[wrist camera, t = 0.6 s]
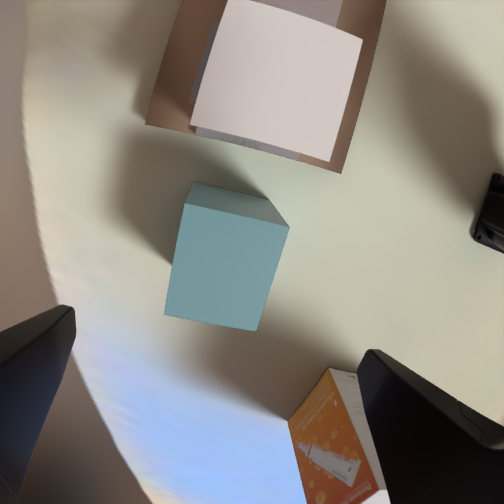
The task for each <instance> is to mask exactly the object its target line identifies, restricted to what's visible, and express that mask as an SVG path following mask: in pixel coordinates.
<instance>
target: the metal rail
mask: <svg viewBox="0 0 504 504" xmlns="http://www.w3.org/2000/svg"><path fill="white" fill-rule="evenodd" d="M250 1H254V2H258V3H262V4H265V5H269V6H273V7H276V8H279V9H283V10H286V11H289V12H292V13H296V14H299V15H302V16H305V17H307V18H310V19H313V20H316V21H319V22H321V23H324V24H327V25H329V26H332V27H334V28H336V24H337V20H338V17H339V13H340V9H341V6H342V2H343V0H250ZM195 135H199V136H203V137H208V138H212V139H217V140H221V141H225V142H229V143H233V144H237V145H241V146H245V147H249V148H253V149H257V150H261V151H265V152H268V153H272V154H276V155H279V156H283V157H286V158H290V159H293V160H297V161H298V159H299V155H300V153H299V152H295V151H292V150H288V149H285V148H281V147H278V146H274V145H271V144H267V143H263V142H260V141H256V140H252V139H248V138H244V137H240V136H236V135H232V134H228V133H224V132H220V131H216V130H211V129H207V128H202V127H198V126H197V128H196V132H195Z"/></svg>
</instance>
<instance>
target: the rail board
mask: <svg viewBox="0 0 504 504" xmlns="http://www.w3.org/2000/svg"><path fill="white" fill-rule="evenodd" d="M227 2H228V0H183V2H182V5H181V7H180V10H179V13H178V15H177V18H176V21H175V24H174V27H173V30H172V33H171V35H170V38H169V41H168V45H167V48H166V51H165V54H164V57H163V60H162V64H161V67H160V70H159V74H158V77H157V81H156V84H155V88H154V92H153V95H152V99H151V103H150V107H149V111H148V115H147V119H146V123H145V125H150V126H155V127H161V128H166V129H171V130H176V131H181V132H186V133H191V134H195V132H196V128H197V126H193V125H190V122H191V118H192V114H193V111H194V107H195V105H192V104H191V103H190V102H189V99H190V96H191V92H192V89H193V85H194V82H195V78H196V75H197V71H198V68H199V65H200V61H201V58H202V55H203V52H204V49H205V46H206V42H207V39H208V36H209V33H210V30H211V27H212V24H213V22H219V23H220V22H221V19H222V16H223V13H224V10H225V7H226V5H227ZM385 5H386V0H343V2H342V6H341V9H340V13H339V17H338V20H337V24H336V28H337V29H339V30H342V31H344V32H347V33H349V34H351V35H354V36H356V37H358V38H360V39H363V42H362V46H361V50H360V53H359V57H358V61H357V65H356V69H355V73H354V77H353V80H352V84H351V88H350V91H349V95H348V99H347V102H346V106H345V110H344V113H343V117H342V120H341V124H340V127H339V131H338V134H337V138H336V141H335V144H334V148H333V151H332V155H331V158H330V161H329V162H327V161H324V160H321V159H318V158H315V157H312V156H308V155H305V154H302V153H300V155H299V159H298V161H301V162H304V163H308V164H311V165H314V166H317V167H321V168H324V169H327V170H330V171H333V172H336V173H339V174H341V173H342V169H343V166H344V163H345V159H346V156H347V153H348V149H349V146H350V143H351V139H352V136H353V132H354V129H355V125H356V122H357V118H358V115H359V111H360V107H361V104H362V100H363V96H364V93H365V89H366V85H367V81H368V77H369V73H370V69H371V65H372V61H373V57H374V53H375V49H376V45H377V41H378V36H379V32H380V28H381V23H382V19H383V14H384V9H385Z"/></svg>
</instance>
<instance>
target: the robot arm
mask: <svg viewBox="0 0 504 504" xmlns="http://www.w3.org/2000/svg"><path fill="white" fill-rule="evenodd" d="M478 235H479V236H478ZM473 239H474V241H476V242H478V243H480V244H483V245H485V246H487V247H490V248H492V249H494V250H497V251H499V252H501V253H504V176H502V175H501V174H499V173H494V174H493V176H492V180H491V183H490V187H489V190H488V193H487V197H486V200H485V203H484V206H483V209H482V212H481V215H480V218H479V221H478V224H477V226H476V229H475V232H474V235H473ZM75 337H76V320H75V310H74V308H73V307H71V306H67V305H58V306H56V307H54V308H52V309H50V310H48V311H45V312H43V313H41V314H38V315H36V316H34V317H32V318H30V319H28V320H25V321H23V322H21V323H19V324H17V325H14V326H12V327H10V328H8V329H5V330H3V331H1V332H0V504H17V503H18V497H19V495H20V492H21V488H22V485H23V482H24V478H25V475H26V472H27V469H28V466H29V463H30V460H31V457H32V454H33V451H34V448H35V446H36V443H37V440H38V438H39V435H40V432H41V430H42V427H43V424H44V422H45V419H46V417H47V414H48V412H49V409H50V406H51V404H52V402H53V399H54V397H55V395H56V392H57V390H58V388H59V385H60V383H61V380H62V378H63V374H64V372H65V368H66V365H67V362H68V359H69V356H70V353H71V350H72V347H73V344H74V341H75ZM357 378H358V383H359V388H360V393H361V398H362V403H363V408H364V412H365V416H366V420H367V423H368V426H369V429H370V433H371V436H372V439H373V443H374V446H375V450H376V453H377V456H378V460H379V463H380V467H381V471H382V474H383V478H384V481H385V485H386V489H387V493H388V496H389V500H390V504H504V427H503V426H502V425H500V424H498V423H496V422H494V421H493V420H491V419H489V418H487V417H485V416H484V415H482V414H480V413H478V412H476V411H475V410H473V409H472V408H470V407H468V406H467V405H465V404H464V403H462V402H460V401H457V399H456V398H454V397H452V396H451V395H449V394H448V393H446V392H445V391H443V390H442V389H440V388H438V387H437V386H435V385H434V384H432V383H431V382H429V381H428V380H426V379H424V378H423V377H421V376H420V375H418V374H417V373H415V372H414V371H412V370H410V369H409V368H407V367H406V366H404V365H403V364H401V363H400V362H398V361H397V360H395V359H393V358H392V357H390V356H389V355H387V354H386V353H384V352H383V351H381V350H379V349H369V350H367V351H366V353H365V355H364V357H363V359H362V361H361V363H360V365H359V367H358V369H357Z"/></svg>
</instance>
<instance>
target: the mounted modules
mask: <svg viewBox="0 0 504 504" xmlns="http://www.w3.org/2000/svg"><path fill="white" fill-rule="evenodd" d="M362 42H363V39H360V38H358V37H356V36H354V35H351V34H349V33H347V32H344V31H342V30H339V29H337V28H334V27H332V26H329V25H327V24H324V23H321V22H319V21H316V20H313V19H310V18H307V17H305V16H302V15H299V14H296V13H292V12H289V11H286V10H283V9H279V8H276V7H273V6H269V5H265V4H262V3H258V2H254V1H250V0H228V2H227V5H226V7H225V10H224V13H223V16H222V19H221V22H220V23H219V22H213V24H212V27H211V30H210V33H209V36H208V39H207V42H206V46H205V49H204V52H203V55H202V58H201V61H200V65H199V68H198V71H197V75H196V78H195V82H194V85H193V89H192V92H191V96H190V99H189V102H190V103H191V104H192V105H195V107H194V111H193V114H192V118H191V122H190V125H193V126H198V127H202V128H207V129H211V130H216V131H220V132H224V133H228V134H232V135H236V136H240V137H244V138H248V139H252V140H256V141H260V142H263V143H267V144H271V145H274V146H278V147H281V148H285V149H288V150H292V151H295V152H299V153H302V154H305V155H308V156H312V157H315V158H318V159H321V160H324V161H327V162H329V161H330V158H331V155H332V151H333V148H334V144H335V141H336V138H337V134H338V131H339V127H340V124H341V120H342V117H343V113H344V110H345V106H346V102H347V99H348V95H349V91H350V88H351V84H352V80H353V77H354V73H355V69H356V65H357V61H358V57H359V53H360V50H361V46H362Z"/></svg>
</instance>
